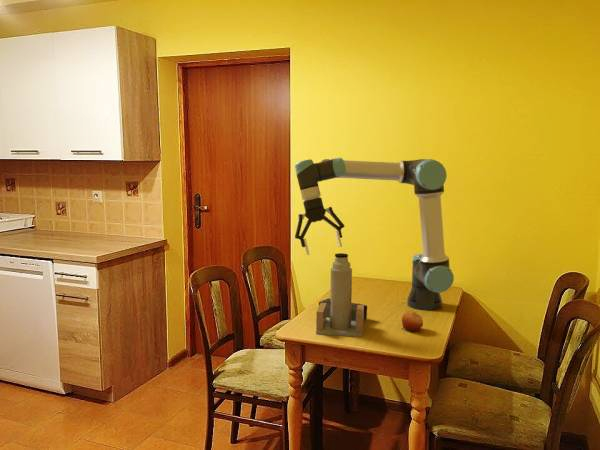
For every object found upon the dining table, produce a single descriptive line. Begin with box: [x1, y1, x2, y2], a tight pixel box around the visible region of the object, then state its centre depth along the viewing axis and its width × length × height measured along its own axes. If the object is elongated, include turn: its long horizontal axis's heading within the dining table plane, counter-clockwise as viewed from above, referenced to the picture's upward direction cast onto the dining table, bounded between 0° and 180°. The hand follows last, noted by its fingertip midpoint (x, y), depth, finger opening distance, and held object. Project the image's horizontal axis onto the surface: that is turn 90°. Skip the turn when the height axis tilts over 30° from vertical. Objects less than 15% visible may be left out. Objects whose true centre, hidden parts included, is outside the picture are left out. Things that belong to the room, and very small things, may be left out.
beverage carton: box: [318, 297, 368, 321], centre depth 211 cm, size 8×19×7 cm, turn 54°
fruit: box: [401, 310, 424, 333], centre depth 197 cm, size 8×8×8 cm
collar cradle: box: [315, 303, 365, 338], centre depth 197 cm, size 17×14×8 cm
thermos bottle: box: [329, 252, 353, 329], centre depth 195 cm, size 8×8×28 cm
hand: (324, 250), depth 206 cm, fingers open, 13 cm apart
